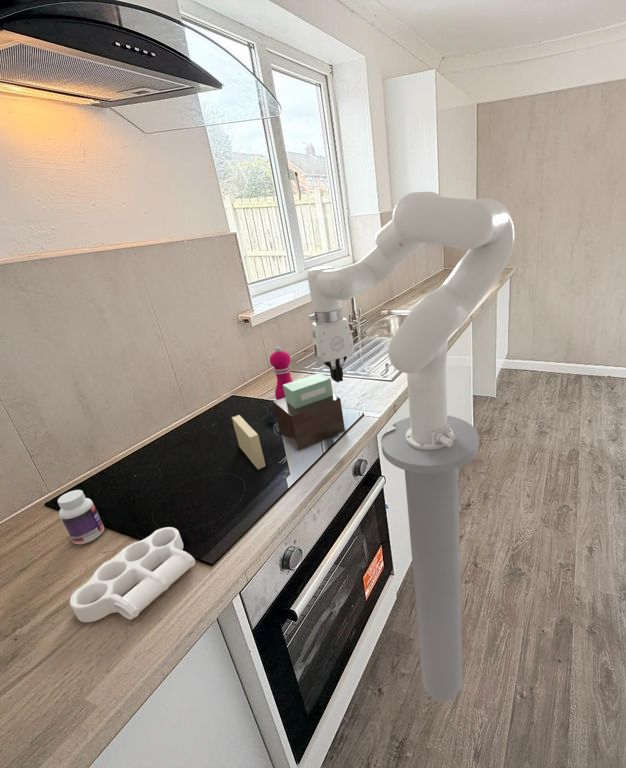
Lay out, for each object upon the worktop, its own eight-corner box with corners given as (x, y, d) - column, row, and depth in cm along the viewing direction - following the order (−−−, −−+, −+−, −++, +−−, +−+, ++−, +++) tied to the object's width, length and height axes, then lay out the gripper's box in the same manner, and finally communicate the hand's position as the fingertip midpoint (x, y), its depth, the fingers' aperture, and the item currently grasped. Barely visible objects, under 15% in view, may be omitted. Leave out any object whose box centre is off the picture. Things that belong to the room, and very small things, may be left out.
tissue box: (322, 389, 116) (320, 372, 114) (333, 395, 111) (330, 378, 109) (286, 401, 110) (282, 384, 108) (295, 409, 105) (292, 391, 103)
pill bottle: (109, 531, 83) (91, 492, 79) (79, 549, 79) (58, 509, 75) (98, 522, 86) (80, 484, 82) (68, 538, 82) (48, 499, 78)
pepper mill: (274, 412, 127) (260, 351, 119) (283, 401, 134) (271, 343, 126) (296, 412, 126) (284, 350, 118) (304, 401, 133) (293, 342, 125)
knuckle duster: (115, 643, 61) (60, 609, 67) (212, 554, 75) (160, 533, 82) (106, 627, 59) (51, 594, 66) (207, 540, 74) (154, 519, 80)
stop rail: (266, 466, 100) (258, 434, 97) (258, 469, 99) (249, 437, 96) (247, 444, 111) (239, 414, 107) (239, 447, 110) (231, 417, 106)
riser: (345, 431, 113) (340, 398, 109) (298, 450, 106) (291, 416, 102) (324, 416, 122) (319, 385, 118) (280, 433, 115) (273, 401, 111)
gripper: (308, 324, 100) (319, 392, 108) (360, 312, 108) (367, 376, 116) (295, 319, 106) (307, 384, 113) (346, 308, 114) (353, 369, 121)
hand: (337, 380), depth 115 cm, fingers closed
